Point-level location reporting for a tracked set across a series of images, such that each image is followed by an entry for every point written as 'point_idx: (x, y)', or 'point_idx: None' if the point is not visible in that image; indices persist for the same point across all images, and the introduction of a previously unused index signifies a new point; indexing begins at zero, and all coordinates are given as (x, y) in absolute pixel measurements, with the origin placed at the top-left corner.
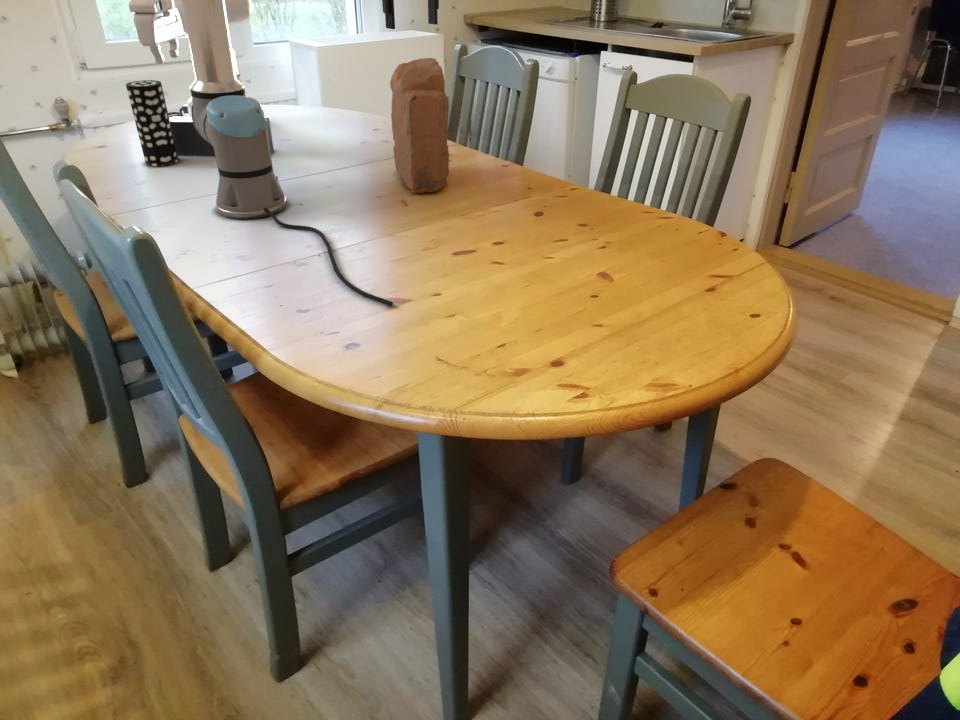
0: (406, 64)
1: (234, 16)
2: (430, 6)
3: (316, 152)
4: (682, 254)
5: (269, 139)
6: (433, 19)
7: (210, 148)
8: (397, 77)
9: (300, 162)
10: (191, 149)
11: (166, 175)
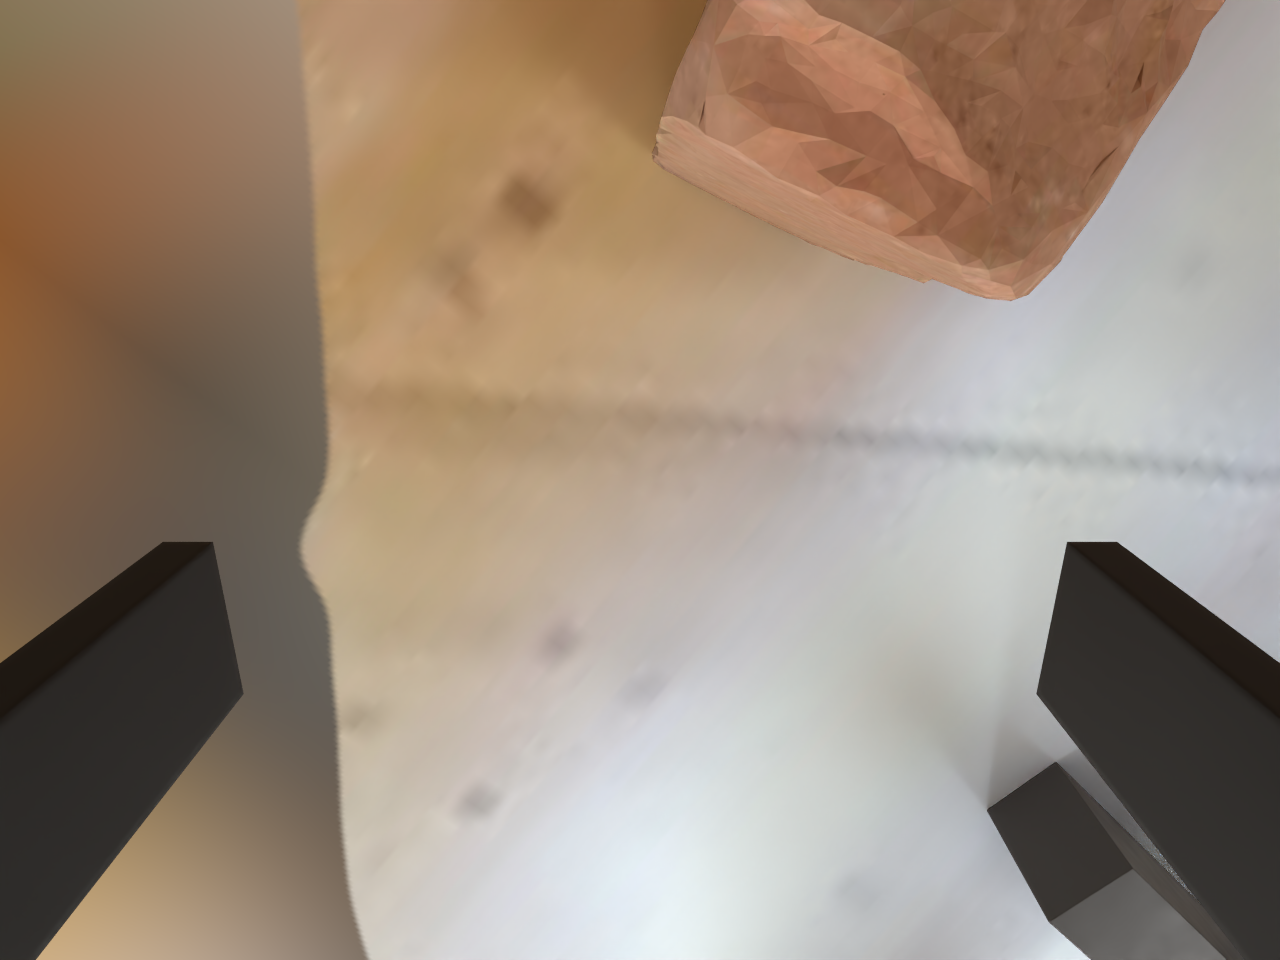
0: (1007, 160)
1: None
2: (59, 834)
3: (883, 698)
4: None
5: (1042, 831)
6: (180, 619)
7: (1200, 909)
8: (1165, 80)
9: (1023, 629)
10: None
11: None
